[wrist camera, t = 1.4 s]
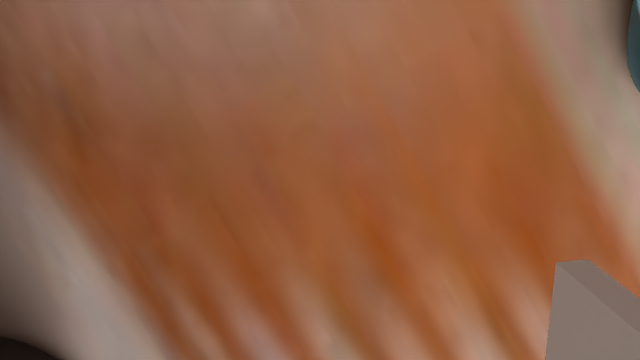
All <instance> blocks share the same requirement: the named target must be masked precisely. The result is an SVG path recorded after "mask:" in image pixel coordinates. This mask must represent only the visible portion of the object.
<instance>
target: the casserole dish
mask: <svg viewBox="0 0 640 360" xmlns="http://www.w3.org/2000/svg"><path fill="white" fill-rule="evenodd" d="M627 61H628V68H629V71H630V75H631V77H632V80H633V82H634V84H635V86H636V88H637V89H638V91H639V92H640V0H633V5H632V10H631V15H630V21H629V28H628V35H627Z"/></svg>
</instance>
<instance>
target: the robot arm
mask: <svg viewBox="0 0 640 360" xmlns="http://www.w3.org/2000/svg"><path fill="white" fill-rule="evenodd" d="M0 360H55V359H53V358H52V357H50V356H48V355H47V354H45V353H43V352H41V351H39V350H37V349H35V348H33V347H31V346H28V345H26V344H23V343H20V342H17V341H14V340H10V339H6V338H1V337H0ZM545 360H640V298H638V297H637V296H636V295H634V294H633V293H632V292H630V291H629V290H628V289H626V288H625V287H624V286H622V285H621V284H620V283H618V282H617V281H616V280H614V279H613V278H612V277H610V276H609V275H608V274H606V273H605V272H604V271H602V270H601V269H600V268H598V267H597V266H596V265H594V264H593V263H592V262H590V261H589V260H578V261H568V262H557V263H556V268H555V277H554V285H553V294H552V303H551V312H550V321H549V330H548V338H547V347H546V356H545Z"/></svg>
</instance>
